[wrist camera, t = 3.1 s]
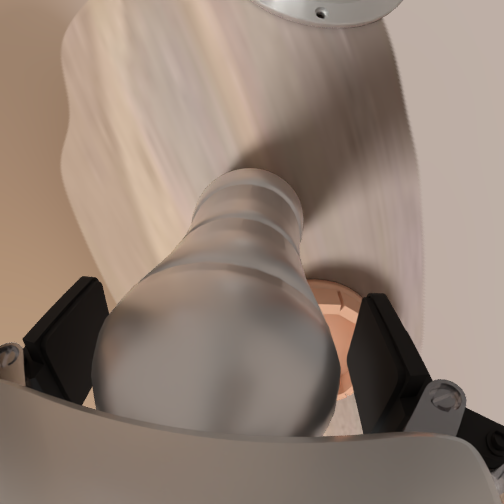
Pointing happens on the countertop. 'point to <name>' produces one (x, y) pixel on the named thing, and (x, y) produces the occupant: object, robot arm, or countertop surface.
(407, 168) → the countertop surface
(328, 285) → the round tray
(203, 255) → the plastic bottle
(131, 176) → the countertop surface
